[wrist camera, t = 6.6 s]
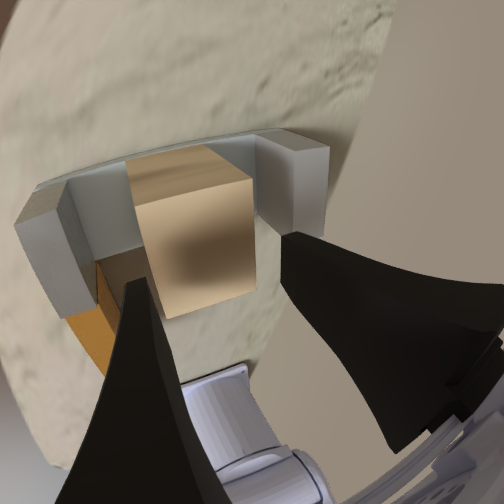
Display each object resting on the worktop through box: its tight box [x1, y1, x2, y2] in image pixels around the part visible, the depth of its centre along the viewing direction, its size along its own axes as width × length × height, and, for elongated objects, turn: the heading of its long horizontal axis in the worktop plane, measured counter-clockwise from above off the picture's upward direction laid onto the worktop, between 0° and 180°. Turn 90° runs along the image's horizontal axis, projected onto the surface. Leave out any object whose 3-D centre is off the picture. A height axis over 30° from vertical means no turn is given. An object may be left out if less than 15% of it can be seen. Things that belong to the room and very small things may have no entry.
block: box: [125, 144, 257, 319], centre depth 13 cm, size 5×4×6 cm
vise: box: [34, 128, 330, 261], centre depth 14 cm, size 5×14×5 cm, turn 92°
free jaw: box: [14, 180, 120, 376], centre depth 14 cm, size 12×2×4 cm, turn 2°
